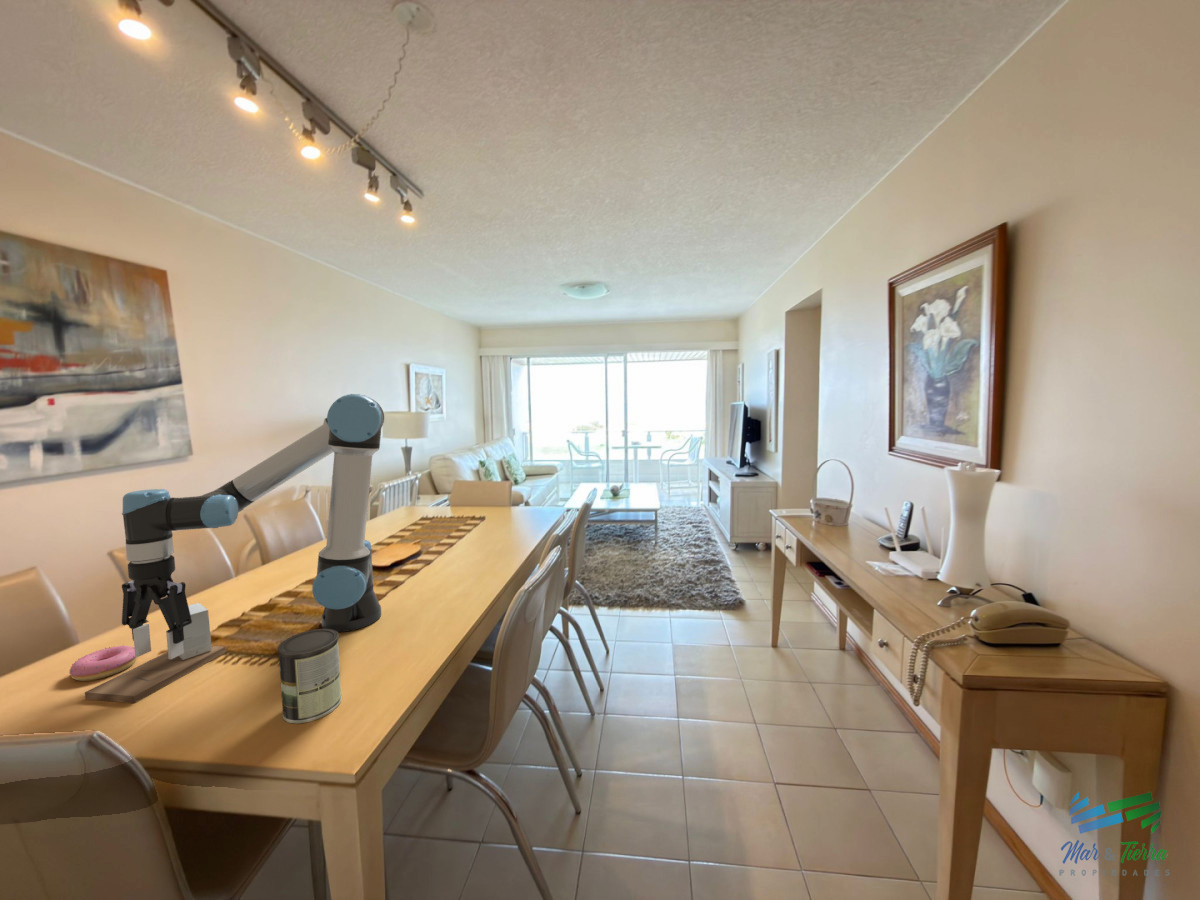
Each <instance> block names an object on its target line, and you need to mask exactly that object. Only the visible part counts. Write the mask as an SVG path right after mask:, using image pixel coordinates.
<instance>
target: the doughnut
mask: <svg viewBox="0 0 1200 900" xmlns="http://www.w3.org/2000/svg"><path fill="white" fill-rule="evenodd" d="M137 660H138V657H135V648H134V646H129V645H117V646H111V647H110V646H109V647H104V648H102V649H99V650H96V651H93V652H91V653H88V654H86V655H84V656H82V657H80V658H78V659H77V660H75V661H74V663H72V664H71V666H70V669H69V675H70V676H71V678H72V679H73V680H75V681H80V682H85V681H86V682H87V681H89V682H90V681H96V680H100V679H105V678H107V677H110V676H113V675H116V674H119V673H120V672H122V671H125V670H127V669H128V668H130V667H131V666H133V664H135V663H136V661H137Z"/></svg>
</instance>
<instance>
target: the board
mask: <svg viewBox="0 0 1200 900" xmlns="http://www.w3.org/2000/svg"><path fill="white" fill-rule="evenodd" d="M211 647H212V650H211V651H208V652H205V653H203V654H200V655H197V656H194V657H191V658H188V659H185V660H182V659H181V658H180V656H177V657H175V658H173V659H168V651H167V652H164V653H162V654H160V655H158V656H156V657H154V658H152V659H150V660H148V661H145V662H144V663H141V664H139V665H138V666H136V667H134V668H132V669H129V670H127V671H125V672H123V673H121V674H120V675H117V676H115V677H113V678H111V679H109V680H107V681H104V682H103V683H101V684H99V685H96V686H95V687H92V688H91V689H88V690H86V691H85V692H84V698H85V700H92V701H94V700H95V701H106V702H118V703H128V704H135V703H137V702H139V701H141V700H143V699H145V698H147V697H148V696H151V694H153V693H156V692H157V691H159V690H161V689H163V688H165V687H166V686H168V685H170V684H172V683H174V682H175V681H177V680H179V679H181V678H183V677H184V676H186V675H188V674H189V673H191V672H193V671H195V670H197V669H198V668H200V667H202V666H204V665H206V664H208V663H209V662H211V661H213V660H214V659H216V658H218V657H220V656H223V655H224V654H225V653H227V648H226V646H222V645H221V646H219V645H211Z"/></svg>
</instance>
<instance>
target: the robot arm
mask: <svg viewBox="0 0 1200 900" xmlns="http://www.w3.org/2000/svg"><path fill="white" fill-rule="evenodd" d="M384 423H385V413H384V410H383V408H382V407H381V405H380V404H379V403H378V402H377V400H375V399H373V398H371V397H369V396H367V395H363V394H360V393H356V394H355V393H350V394H346V395H342V396H341V397H339V398H337V399H335V401H334V402H333V403H332V404H331V405H330V407H329V409H328V411H327V416H326V418H324V420H323V423H322V424H321V425H320V426H318V427H316V428H315V429H314V430H312V431H310V432H309V433H307V434H305V435H304V436H302V437H300V438H299V439H297V440H295V441H294V442H292V443H291V444H289V445H288V446H286V447H284V448H282V449H280V450H279V451H277V452H276V453H274V454H273V455H271V456H269V457H268V458H266V459H264V460H263V461H261V462H259V463H257V464H256V465H254V466H253V467H251V468H249V469H248V470H246V471H244V472H242V473H241V474H239V475H238V476H237V477H235V478H234V479H232V480H229V481H228V482H226V483H225V484H223V485H221V486H220V487H218V488H216V489H214V490H213V491H210V492H206V493H204V494H203V495H199V496H197V495H196V496H184V497H171V494H170V492H169V490H168V489H164V488H160V489H158V488H156V489H155V488H154V489H153V488H152V489H143V490H135V491H134V490H133V491H130V492H127V493H125V494H124V495H123V497H122V512H121V515H122V518H123V527H124V535H125V536H124V537H125V554H126V556H125V557H126V560H127V561H128V563H127V574H128V579H129V580H131V581H128V582H125V583H122V584H121V590H122V593H123V595H122V597H123V598H122V609H121V610H122V613H121V615H122V616H121V625H122V626H128V628H129V629H131V636H132V637H131V638H132V641H133V647H134V648H135V657H137V658H140V657H141V656H143V655H145V654H148V653H150V652H152V643H151V633H150V631H151V630H150V623H149V620H148V619H147V618H148V615H149V612H150V608H151V606H152V605H151V604H152V601H153V602H154V605H157V606H158V607H159V609H160V611H161V614H162V616H163V619H164V621H165V622H166V624H167V626H168V629H167V630H166V632H165V633H166V635H165V636H166V645H167V646H166V647H167V652H168V659H173V658H175V657H177V656H179V655H181V654H183V653H184V649H183V641H184V631H183V627H184V626H186V625H189V624H191V623H192V620H191V616H190V611H189V607H188V605H189V603H188V599H187V595H186V583H185V582H184V581H182V582H179V583H178V582H174V579H173V578H172V574H173V573H174V572H175V571H176V560H175V556H174V555H173V554H174V543H173V542H174V541H173V531H176V532H177V531H186V530H187V531H188V530H189V531H190V530H200V529H218V528H222V527H229V526H232V525H234V524H235V523H236V520H238V516H239V513H240V512H242V511H243V510H244V509H245V508H247V507H248V506H250V505H251V504H253V503H255V502H256V501H257V500H259V499H260V498H263V497H264V496H266V495H267V494H269V493H270V492H273V490H275V489H277V488H278V487H279V486H281V485H283V484H285V483H286V482H287V481H289V480H291V479H293V478H295V477H296V476H297V475H299V474H301V473H302V472H304V471H305V470H306V469H307V470H308V469H309V468H310V467H312V466H314V465H315V464H316V463H318V462H320V461H321V460H323V459H325V458H326V457H327V456H330V455H331V454H332V453H334V454H333V464H332V465H333V466H332V467H333V468H332V477H331V488H330V489H331V490H330V501H329V511H328V522H327V534H326V544H325V546H324V547H323V548H322V549H320V551H318V558H317V567H316V568H317V569H316V576H315V578H314V580H313V582H312V586H311V588H312V589H311V591H312V596H313V598H314V600H315V602H317V603H318V604H319V605H321V606H322V607H324V609H323V612H322V616H321V629H332V630H335V631H337V632H338V633H340V632H341V633H343V632H348V631H354V630H358V629H361V628H365V627H367V626H369V625H372V624H373V623H376V622H377V621H378V620H379V619H380V618H381V617H382V607H381V604H380V602H379V600H378V597H377V595H376V592H375V590H374V576H373V558H372V554H373V553H372V552H373V548H372V543H371V541H369V540H366V539H365V538H366V530H367V519H368V510H369V509H368V507H369V499H370V498H369V495H370V486H371V474H372V465H373V464H372V463H373V462H372V461H373V455H374V454H375V453H377V452H378V451H379V450H380V449H381V448H380V447H381V435H382V428H383V426H384ZM175 623H176V624H175Z"/></svg>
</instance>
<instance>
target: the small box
mask: <svg viewBox="0 0 1200 900" xmlns="http://www.w3.org/2000/svg"><path fill="white" fill-rule="evenodd" d="M188 607H189V611H190V616H191V620H192V623H191V624H189V625H186V626H184V627H183V631H184V641H183V649H184V653H183V654H181V655H179V656H180V658H181V659H182V660H185V659H188V658H191V657H194V656H197V655H200V654H203V653H205V652H208V651H211V650H212V647H211V646H212V637H211V627H210V626H211V625H210V618H209V609H207V608H206V607H205V606H204V605H203V604H201V603H200V602H196V603H193V604H188ZM175 624H176V623H175Z"/></svg>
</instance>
